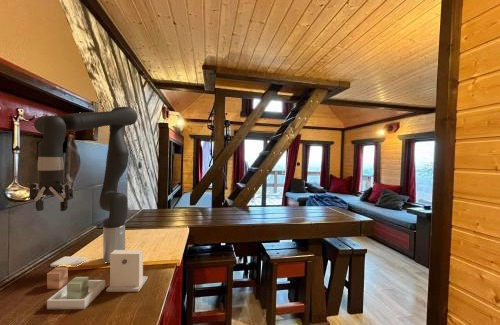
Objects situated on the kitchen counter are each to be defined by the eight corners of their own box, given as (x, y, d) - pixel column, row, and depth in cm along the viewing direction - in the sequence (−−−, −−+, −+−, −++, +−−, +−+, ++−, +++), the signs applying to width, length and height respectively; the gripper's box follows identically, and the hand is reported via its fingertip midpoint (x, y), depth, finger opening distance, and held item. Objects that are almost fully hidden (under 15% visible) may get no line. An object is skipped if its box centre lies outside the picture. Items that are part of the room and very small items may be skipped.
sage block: (75, 292, 86) (75, 276, 86) (88, 292, 87) (88, 276, 86) (67, 300, 82) (66, 283, 82) (80, 300, 82) (80, 283, 82)
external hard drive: (65, 259, 114) (90, 260, 113) (50, 267, 105) (76, 269, 105) (65, 255, 113) (90, 257, 113) (50, 264, 105) (76, 265, 105)
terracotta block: (56, 282, 94) (56, 267, 93) (67, 282, 94) (67, 267, 94) (47, 288, 89) (46, 273, 89) (59, 288, 89) (59, 273, 89)
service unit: (118, 278, 97) (118, 246, 97) (147, 278, 98) (147, 246, 97) (106, 291, 88) (106, 255, 88) (138, 291, 89) (138, 256, 88)
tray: (72, 287, 90) (72, 280, 90) (105, 287, 91) (105, 280, 91) (47, 309, 78) (46, 300, 78) (84, 309, 79) (84, 300, 78)
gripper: (77, 168, 92) (77, 208, 93) (39, 167, 91) (40, 208, 92) (63, 170, 85) (63, 213, 86) (22, 169, 84) (23, 213, 85)
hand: (51, 210), depth 89 cm, fingers open, 8 cm apart
